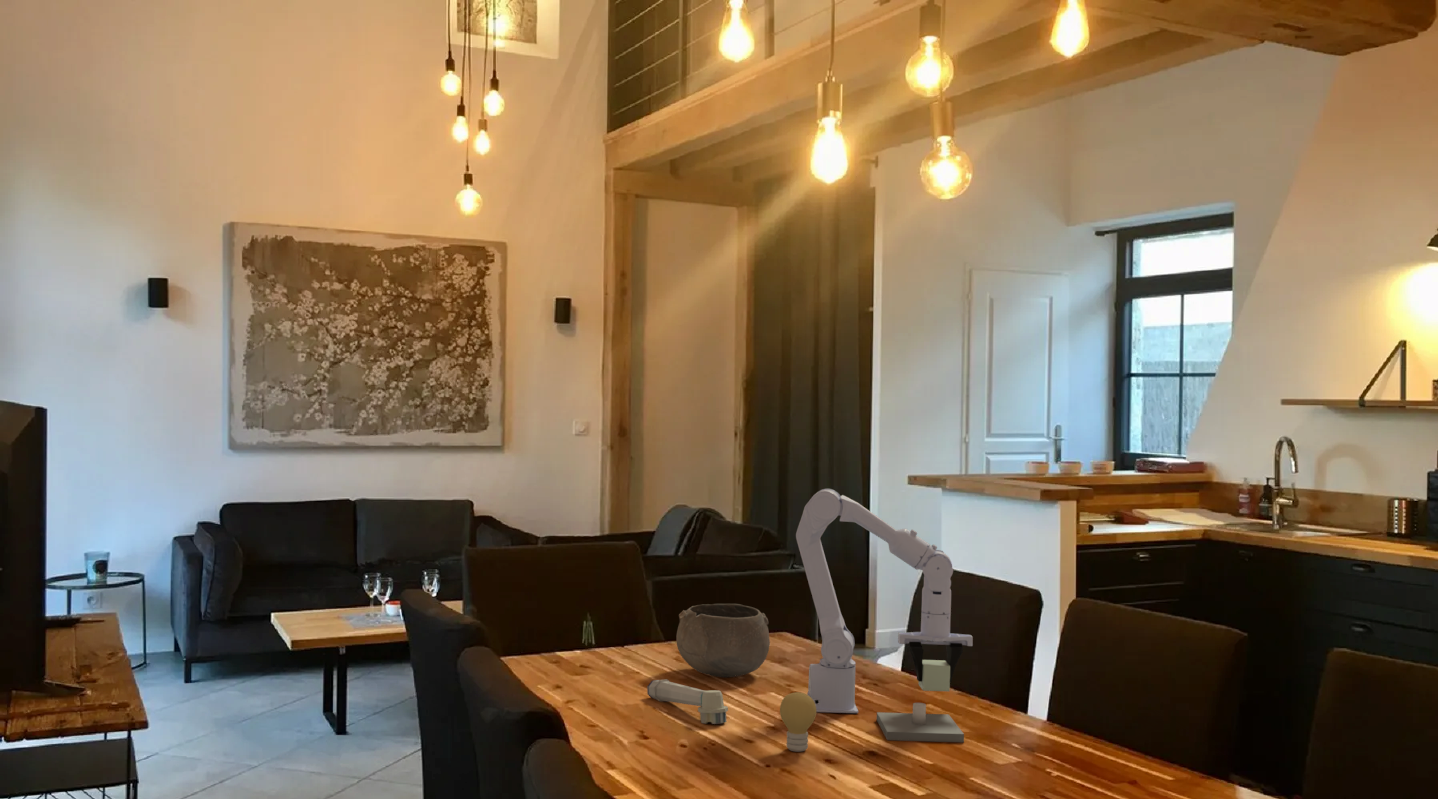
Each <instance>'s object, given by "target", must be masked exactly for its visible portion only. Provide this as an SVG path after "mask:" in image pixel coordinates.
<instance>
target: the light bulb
mask: <svg viewBox="0 0 1438 799" xmlns="http://www.w3.org/2000/svg"><path fill="white" fill-rule="evenodd" d="M781 700H782V701H781V702H780V706H779V715H780V717H781V720H782V722H783V724H784V725H785V726H786V728H787V731H786V748H787V749H788V750H789V751H791V752H795V753H797V752H798V753H799V752H801V753H802V752H805V751H806V750H807V749H808V747H809V745H808V744H809V743H808V742H809V738H808V737H809V732H808V729H809V728H810V727H811V726H812V725H813V723H814V721H815V719H816V716H817V712H816V705H815V703H814V701H813V699H812V698H811V697H810V696H808V695H807V693H804V692H799V691H798V692H797V691H795V692H792V693H788V694H787V695H785V696H784V697H783V699H781Z"/></svg>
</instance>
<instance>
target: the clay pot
mask: <svg viewBox="0 0 1438 799" xmlns="http://www.w3.org/2000/svg"><path fill="white" fill-rule="evenodd" d="M678 618H679V623H678V627H677V630H676V648H677V650H678V653H679V654H680V656H681V657H682V659H683V660H684V662H685V663H687V664H688V665H689V667H691V668H692V669H694V670H695V671H697V672H698V673H701V674H703V675H708V676H711V677H717V678H734V677H740V676H746V675H748V674H750V673H752V672H754V671H756V670H758V669H759V668H761V666H762V665H763V663H764V662H765V660H766V659H767V656H768V654H769V650H770V645H771V641H770V633H769V626H768V625H769V619H768V617H767V615H766V614H765V613H764V612H761V611H760V610H759V609H758V608H755V607H752V606H749V605H743V604H740V603H712V604H709V603H707V604H704V603H703V604H697V605H692V606H691V607H689V608H687V609H686V610H684V609H683V610H682V611H681V612H680V613H679V614H678Z"/></svg>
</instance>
